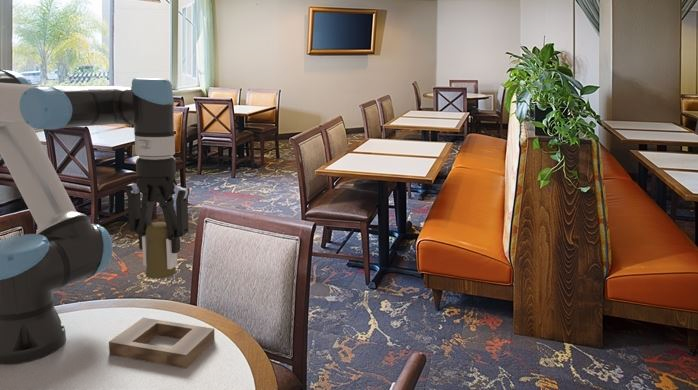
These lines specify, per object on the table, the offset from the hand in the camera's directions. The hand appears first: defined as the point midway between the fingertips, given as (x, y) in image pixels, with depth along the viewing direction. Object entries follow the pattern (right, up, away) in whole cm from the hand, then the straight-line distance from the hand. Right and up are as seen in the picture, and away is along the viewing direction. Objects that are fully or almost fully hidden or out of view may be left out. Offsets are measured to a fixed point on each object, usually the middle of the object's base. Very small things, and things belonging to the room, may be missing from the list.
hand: (160, 265), depth 111 cm
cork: (0, -2, 0) cm, 2 cm away
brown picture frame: (-1, -18, +4) cm, 19 cm away
